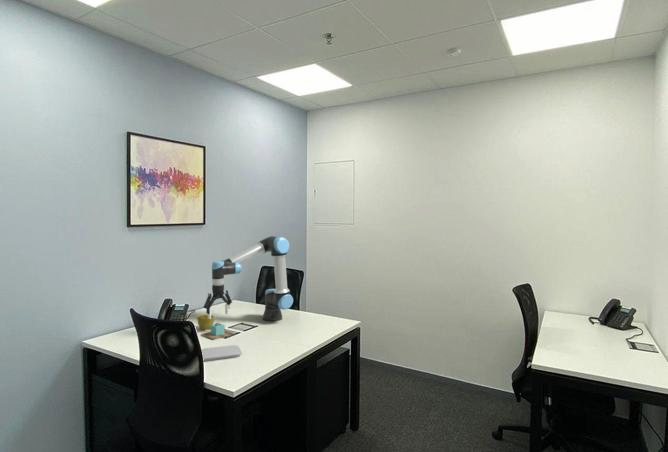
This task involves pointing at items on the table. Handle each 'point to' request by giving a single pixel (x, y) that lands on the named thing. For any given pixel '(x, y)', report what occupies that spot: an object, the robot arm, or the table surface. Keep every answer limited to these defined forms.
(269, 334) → the table surface
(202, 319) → the flower pot
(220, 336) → the post stand
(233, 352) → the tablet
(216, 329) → the light blue cube
